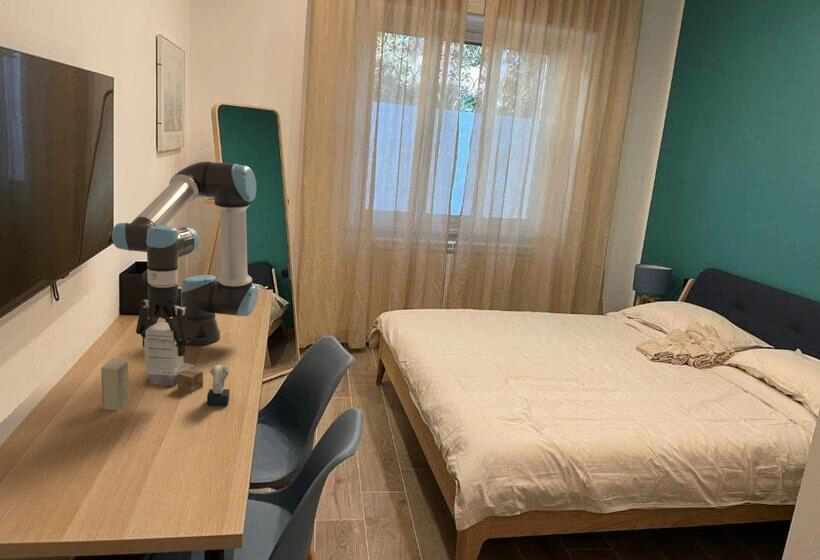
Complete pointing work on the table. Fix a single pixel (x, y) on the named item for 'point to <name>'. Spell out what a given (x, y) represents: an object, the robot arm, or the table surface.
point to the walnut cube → (190, 380)
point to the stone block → (169, 376)
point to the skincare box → (114, 384)
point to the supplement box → (160, 350)
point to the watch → (218, 387)
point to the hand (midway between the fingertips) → (163, 362)
